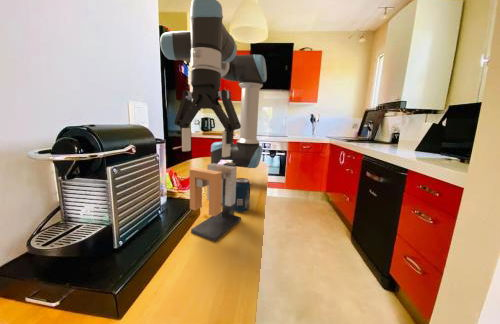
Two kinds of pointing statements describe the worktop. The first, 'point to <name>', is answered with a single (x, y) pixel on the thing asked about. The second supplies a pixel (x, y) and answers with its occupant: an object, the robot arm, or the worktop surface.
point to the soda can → (242, 195)
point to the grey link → (230, 181)
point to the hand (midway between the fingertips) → (205, 153)
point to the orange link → (214, 189)
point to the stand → (217, 216)
